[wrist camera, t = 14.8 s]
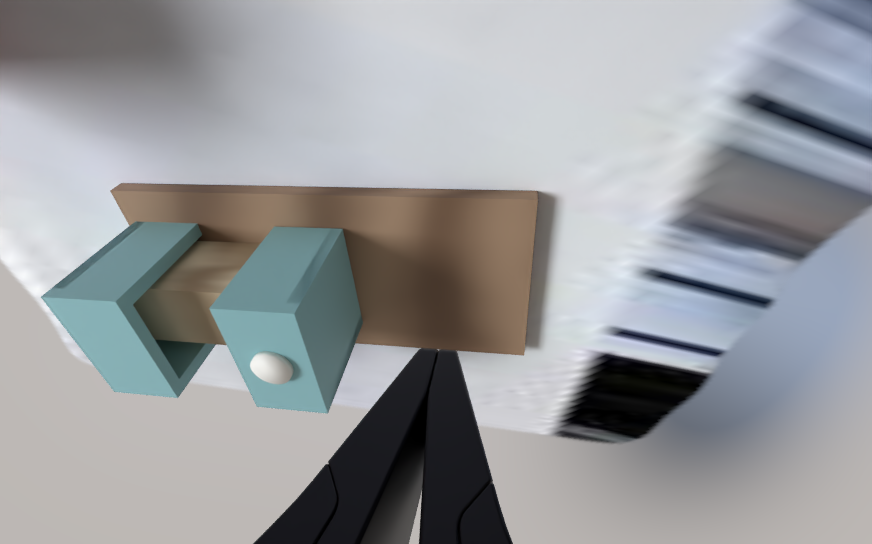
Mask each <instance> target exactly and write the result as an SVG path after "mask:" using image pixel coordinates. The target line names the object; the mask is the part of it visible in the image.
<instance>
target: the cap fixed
mask: <svg viewBox="0 0 872 544" xmlns="http://www.w3.org/2000/svg"><path fill="white" fill-rule="evenodd" d="M201 236H202V233H201V231H200V229H199V226H198V224H197V223H167V222H137V221H135V222H134V223H133V224H132V225H130V226H129V227H128V228H127V229H125V230H124V231H123V232H122V233H120V234H119V235H118V236H117V237H115V238H114V239H113V240H112V241H110V242H109V243H108V244H107V245H105V246H104V247H103V248H102V249H100V250H99V251H98V252H97V253H95V254H94V255H93V256H92V257H90V258H89V259H88V260H87V261H85V262H84V263H83V264H82V265H80V266H79V267H78V268H77V269H75V270H74V271H73V272H72V273H70V274H69V275H68V276H67V277H65V278H64V279H63V280H62V281H60V282H59V283H58V284H56V285H55V286H54V287H53V288H51V289H50V290H49V291H48V292H46V293H45V294H44V295H43V296H41V298H42V299H43V300H44V302H45V303H46V304H47V306H48V307H49V308H50V309H51V311H52V312H53V313H54V315H55V316H56V317H57V319H58V320H59V321H60V322H61V324H62V325H63V326H64V328H65V329H66V330H67V331H68V333H69V334H70V335H71V337H72V338H73V339H74V340H75V342H76V343H77V344H78V346H79V347H80V348H81V349H82V351H83V352H84V353H85V355H86V356H87V357H88V358H89V360H90V361H91V362H92V364H93V365H94V366H95V367H96V369H97V370H98V371H99V372H100V374H101V375H102V376H103V378H104V379H105V380H106V381H107V383H108V384H109V385H110V386H111V388H112V389H113V391H114V392H123V393H133V394H144V395H153V396H163V397H174V398H178V397H179V396H180V394H181V393H182V391H183V390H184V389H185V387H186V386H187V384H188V383H189V382H190V380H191V379H192V377H193V376H194V374H195V373H196V372H197V370H198V369H199V367H200V366H201V365H202V363H203V362H204V360H205V359H206V358H207V356H208V355H209V353H210V352H211V351H212V349H213V348H214V346H215V345H216V344H207V343H194V342H181V341H168V340H155V339H154V338H153V336H152V335H151V333H150V331H149V330H148V328H147V327H146V325H145V323H144V322H143V320H142V319H141V317H140V315H139V314H138V312H137V311H136V309H135V307H134V306H133V304H134V303H135V302H136V301H137V300H138V299H139V298H140V297H141V296H142V295H143V294H144V293H145V292H146V291H147V290H148V289H149V288H150V287H151V286H152V285H153V284H154V283H155V282H156V281H157V280H158V279H159V278H160V277H161V276H162V275H163V274H164V273H165V272H166V271H167V270H168V269H169V268H170V267H171V266H172V265H173V264H174V263H175V262H176V261H177V260H178V259H179V258H180V257H181V256H182V255H183V254H184V253H185V252H186V251H187V250H188V249H189V248H190V247H191V246H192V245H193V244H194V243H195V242H196V241H197V240H198V239H199V238H200V237H201Z"/></svg>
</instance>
